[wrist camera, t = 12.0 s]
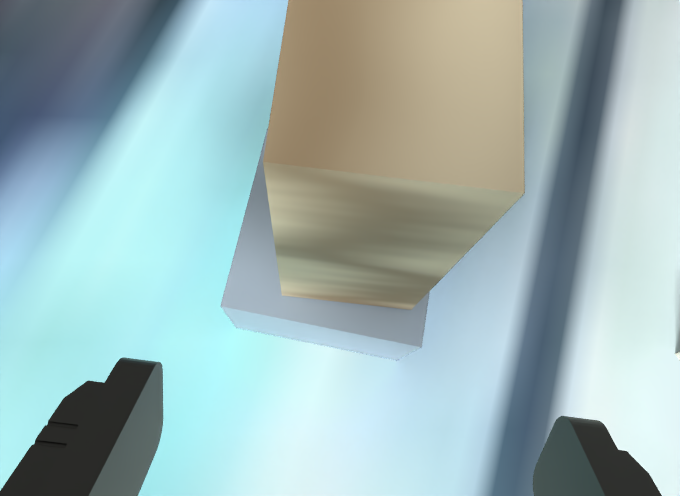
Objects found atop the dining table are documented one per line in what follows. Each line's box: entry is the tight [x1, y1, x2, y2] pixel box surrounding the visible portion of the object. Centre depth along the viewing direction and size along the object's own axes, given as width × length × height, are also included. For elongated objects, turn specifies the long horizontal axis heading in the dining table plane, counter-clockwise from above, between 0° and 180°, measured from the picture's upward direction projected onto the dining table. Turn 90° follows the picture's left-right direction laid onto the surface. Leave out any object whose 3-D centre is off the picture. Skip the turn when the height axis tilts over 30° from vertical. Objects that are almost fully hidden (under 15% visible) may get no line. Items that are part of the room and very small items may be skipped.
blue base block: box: [221, 129, 430, 361], centre depth 22 cm, size 7×7×5 cm
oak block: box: [263, 0, 525, 310], centre depth 15 cm, size 4×4×10 cm
